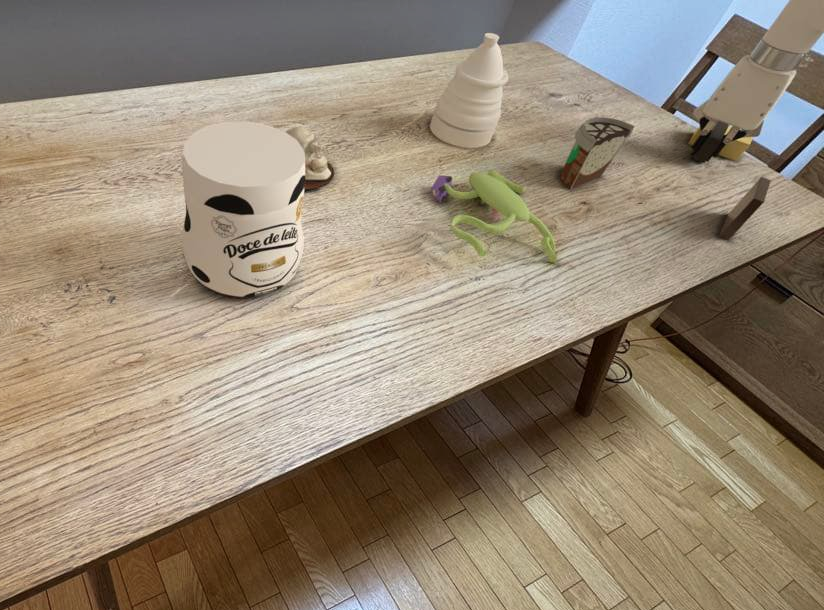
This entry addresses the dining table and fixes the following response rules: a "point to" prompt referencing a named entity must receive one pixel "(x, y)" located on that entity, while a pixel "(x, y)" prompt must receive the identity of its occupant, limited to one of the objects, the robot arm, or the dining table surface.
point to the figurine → (493, 207)
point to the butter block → (735, 147)
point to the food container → (594, 149)
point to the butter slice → (696, 135)
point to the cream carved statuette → (312, 158)
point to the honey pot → (472, 98)
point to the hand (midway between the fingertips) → (700, 155)
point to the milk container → (243, 207)
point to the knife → (711, 141)
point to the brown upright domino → (745, 208)
